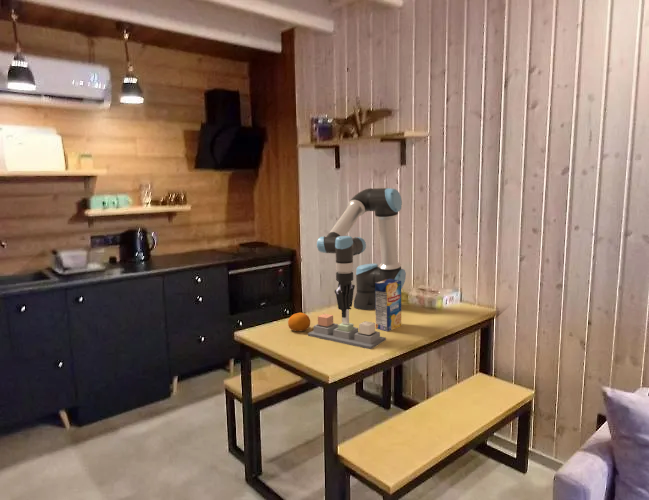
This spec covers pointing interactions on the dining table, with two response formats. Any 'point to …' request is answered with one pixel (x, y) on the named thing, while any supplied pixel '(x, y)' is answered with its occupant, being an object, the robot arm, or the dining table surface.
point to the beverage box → (388, 304)
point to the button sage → (346, 327)
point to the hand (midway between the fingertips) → (345, 323)
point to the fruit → (299, 322)
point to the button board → (347, 336)
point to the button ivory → (366, 328)
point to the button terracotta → (325, 320)
